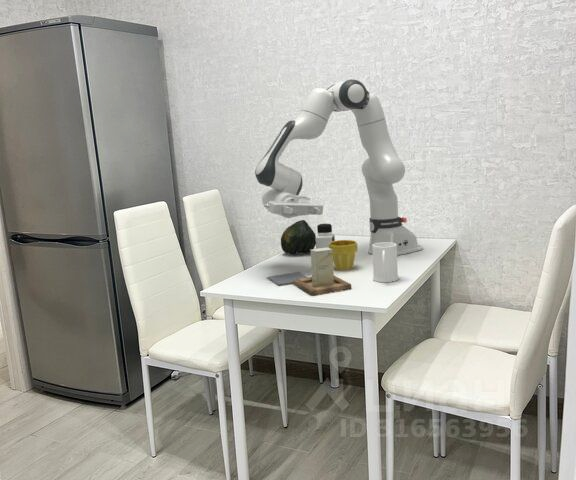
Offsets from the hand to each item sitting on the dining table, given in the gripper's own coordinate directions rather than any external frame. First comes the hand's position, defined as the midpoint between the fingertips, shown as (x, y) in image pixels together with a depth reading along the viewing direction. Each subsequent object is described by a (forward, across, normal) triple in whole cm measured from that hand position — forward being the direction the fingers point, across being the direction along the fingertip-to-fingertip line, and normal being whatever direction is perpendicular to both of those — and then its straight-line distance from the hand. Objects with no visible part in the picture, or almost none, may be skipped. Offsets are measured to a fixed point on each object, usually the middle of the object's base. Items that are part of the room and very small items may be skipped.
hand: (305, 211), depth 198 cm
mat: (-2, -3, +24) cm, 25 cm away
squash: (-37, +20, +24) cm, 49 cm away
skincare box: (+14, +2, +22) cm, 27 cm away
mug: (+21, +21, +20) cm, 36 cm away
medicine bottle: (-31, +29, +22) cm, 48 cm away
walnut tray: (+14, +1, +23) cm, 27 cm away
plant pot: (-2, +20, +22) cm, 29 cm away
